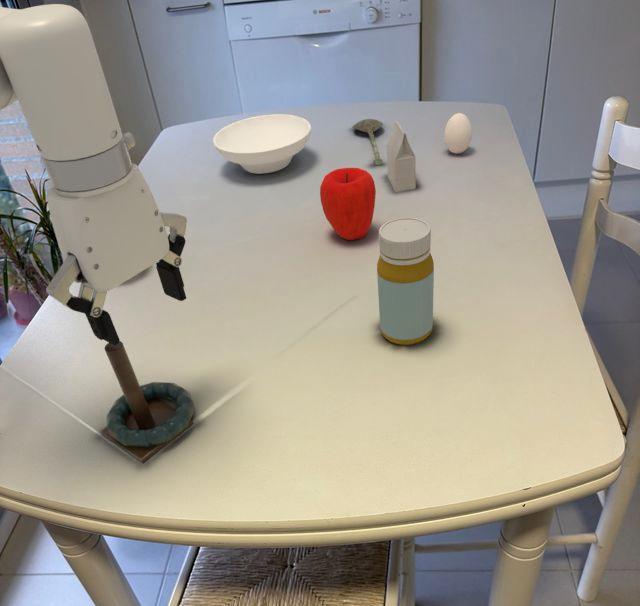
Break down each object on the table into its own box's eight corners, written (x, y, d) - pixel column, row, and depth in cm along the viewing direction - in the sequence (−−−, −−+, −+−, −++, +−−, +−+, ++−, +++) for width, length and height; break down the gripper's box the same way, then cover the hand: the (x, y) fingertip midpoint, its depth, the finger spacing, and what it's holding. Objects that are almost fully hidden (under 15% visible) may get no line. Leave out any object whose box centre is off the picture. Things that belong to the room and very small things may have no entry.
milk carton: (395, 192, 117) (394, 136, 110) (387, 177, 122) (385, 122, 115) (415, 189, 117) (415, 132, 110) (407, 174, 122) (406, 119, 115)
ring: (93, 427, 79) (87, 415, 78) (159, 380, 84) (154, 368, 83) (146, 463, 74) (140, 451, 72) (212, 411, 79) (208, 399, 77)
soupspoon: (381, 127, 142) (352, 132, 143) (380, 110, 140) (350, 116, 141) (394, 163, 126) (361, 169, 126) (393, 146, 124) (358, 152, 124)
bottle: (370, 331, 88) (363, 230, 78) (409, 310, 91) (407, 209, 80) (403, 354, 84) (401, 250, 74) (443, 332, 86) (446, 228, 76)
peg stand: (103, 436, 79) (62, 353, 70) (153, 400, 83) (120, 316, 74) (143, 464, 75) (105, 379, 66) (194, 424, 79) (165, 338, 70)
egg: (448, 146, 129) (449, 107, 124) (474, 148, 127) (476, 109, 122) (439, 157, 126) (440, 118, 121) (466, 159, 124) (468, 119, 119)
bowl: (305, 186, 123) (300, 150, 119) (208, 189, 127) (200, 154, 122) (322, 145, 137) (318, 111, 132) (234, 149, 141) (227, 116, 136)
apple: (314, 240, 108) (306, 177, 101) (347, 218, 112) (342, 156, 105) (355, 254, 103) (350, 189, 96) (388, 230, 108) (386, 166, 100)
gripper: (136, 125, 66) (179, 272, 78) (-15, 194, 57) (59, 347, 69) (184, 137, 62) (222, 290, 74) (30, 213, 54) (101, 372, 66)
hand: (143, 317), depth 72 cm, fingers open, 9 cm apart
